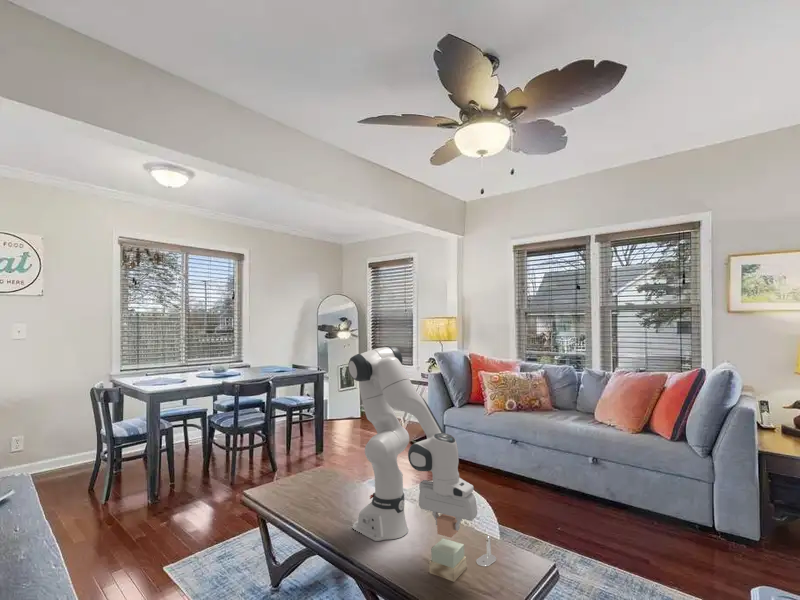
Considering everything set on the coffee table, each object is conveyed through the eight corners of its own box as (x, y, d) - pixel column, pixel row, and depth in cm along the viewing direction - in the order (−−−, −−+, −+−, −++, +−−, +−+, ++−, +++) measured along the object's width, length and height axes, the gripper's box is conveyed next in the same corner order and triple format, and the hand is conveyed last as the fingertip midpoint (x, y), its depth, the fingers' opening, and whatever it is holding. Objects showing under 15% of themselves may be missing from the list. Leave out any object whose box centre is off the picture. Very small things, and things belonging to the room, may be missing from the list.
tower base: (429, 574, 142) (429, 561, 142) (442, 561, 150) (442, 549, 150) (454, 582, 137) (454, 569, 137) (466, 569, 145) (466, 556, 145)
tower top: (431, 561, 143) (431, 548, 143) (443, 550, 149) (442, 538, 150) (453, 568, 138) (453, 555, 138) (464, 556, 145) (464, 544, 145)
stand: (473, 562, 148) (486, 553, 153) (485, 568, 144) (499, 558, 150) (472, 539, 148) (486, 531, 154) (485, 544, 145) (498, 535, 150)
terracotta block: (437, 533, 143) (436, 518, 143) (444, 527, 147) (444, 512, 148) (451, 537, 140) (450, 521, 141) (458, 531, 145) (457, 515, 145)
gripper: (414, 482, 148) (415, 523, 147) (469, 493, 136) (471, 539, 136) (424, 476, 153) (425, 516, 152) (478, 486, 142) (479, 530, 141)
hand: (447, 527), depth 144 cm, fingers closed on terracotta block, 5 cm apart
